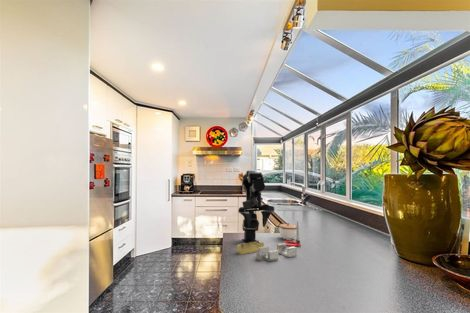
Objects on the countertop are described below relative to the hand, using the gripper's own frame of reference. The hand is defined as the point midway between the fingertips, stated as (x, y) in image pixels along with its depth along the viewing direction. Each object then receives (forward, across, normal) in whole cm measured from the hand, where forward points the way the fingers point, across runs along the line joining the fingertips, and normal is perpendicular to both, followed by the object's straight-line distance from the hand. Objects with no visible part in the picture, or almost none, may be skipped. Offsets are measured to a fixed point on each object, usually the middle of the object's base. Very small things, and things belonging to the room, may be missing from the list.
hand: (256, 227), depth 116 cm
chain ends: (+13, +8, +6) cm, 16 cm away
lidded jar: (+4, -4, +38) cm, 39 cm away
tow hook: (+8, +3, +28) cm, 30 cm away
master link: (+12, -5, +2) cm, 13 cm away
